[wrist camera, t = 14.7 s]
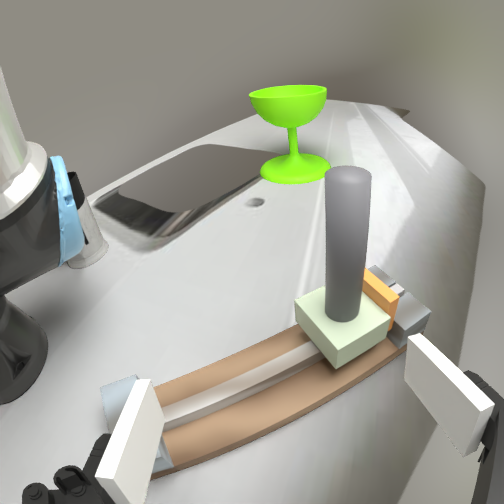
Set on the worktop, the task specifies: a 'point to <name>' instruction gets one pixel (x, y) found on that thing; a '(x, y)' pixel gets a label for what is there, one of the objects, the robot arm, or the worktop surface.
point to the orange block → (382, 294)
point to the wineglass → (291, 130)
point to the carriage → (344, 274)
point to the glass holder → (86, 229)
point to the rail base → (264, 402)
